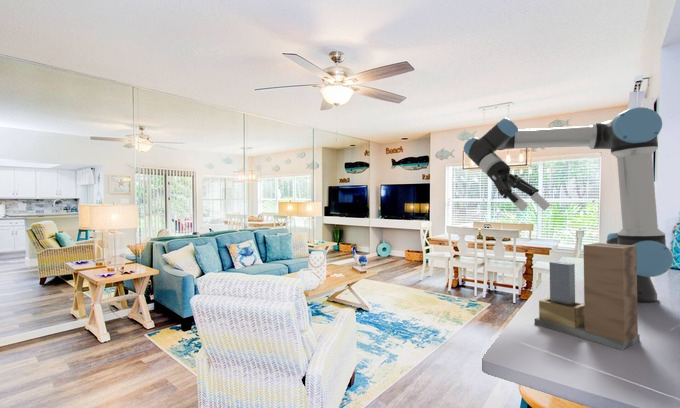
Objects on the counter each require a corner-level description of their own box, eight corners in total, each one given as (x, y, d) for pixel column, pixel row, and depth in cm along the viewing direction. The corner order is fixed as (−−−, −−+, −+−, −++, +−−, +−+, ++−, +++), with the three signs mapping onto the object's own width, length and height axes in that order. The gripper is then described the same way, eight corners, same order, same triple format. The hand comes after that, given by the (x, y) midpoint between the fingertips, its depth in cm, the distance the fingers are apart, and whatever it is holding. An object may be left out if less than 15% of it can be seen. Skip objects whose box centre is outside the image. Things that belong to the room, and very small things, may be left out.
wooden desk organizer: (553, 317, 99) (552, 238, 99) (639, 340, 81) (638, 245, 81) (534, 323, 93) (533, 241, 94) (622, 350, 76) (620, 248, 76)
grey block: (555, 316, 95) (555, 261, 95) (575, 322, 90) (574, 263, 90) (550, 318, 93) (549, 262, 93) (570, 324, 89) (569, 264, 89)
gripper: (508, 176, 133) (548, 214, 120) (467, 174, 120) (506, 216, 107) (520, 161, 128) (563, 199, 115) (479, 158, 115) (522, 200, 102)
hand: (536, 207), depth 111 cm, fingers open, 13 cm apart
